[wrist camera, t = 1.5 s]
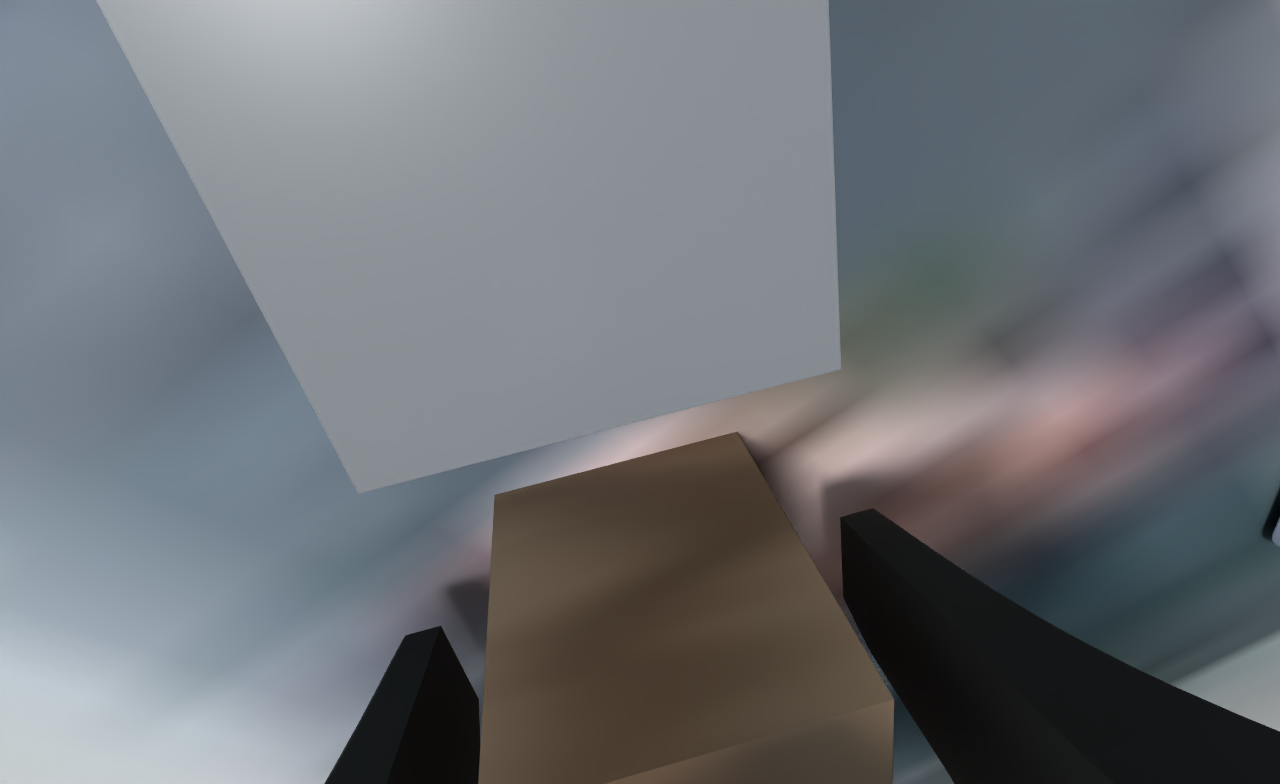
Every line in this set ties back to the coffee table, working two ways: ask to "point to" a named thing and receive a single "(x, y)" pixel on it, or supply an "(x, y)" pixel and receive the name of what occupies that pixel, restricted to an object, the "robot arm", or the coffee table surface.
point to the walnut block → (670, 635)
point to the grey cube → (510, 205)
